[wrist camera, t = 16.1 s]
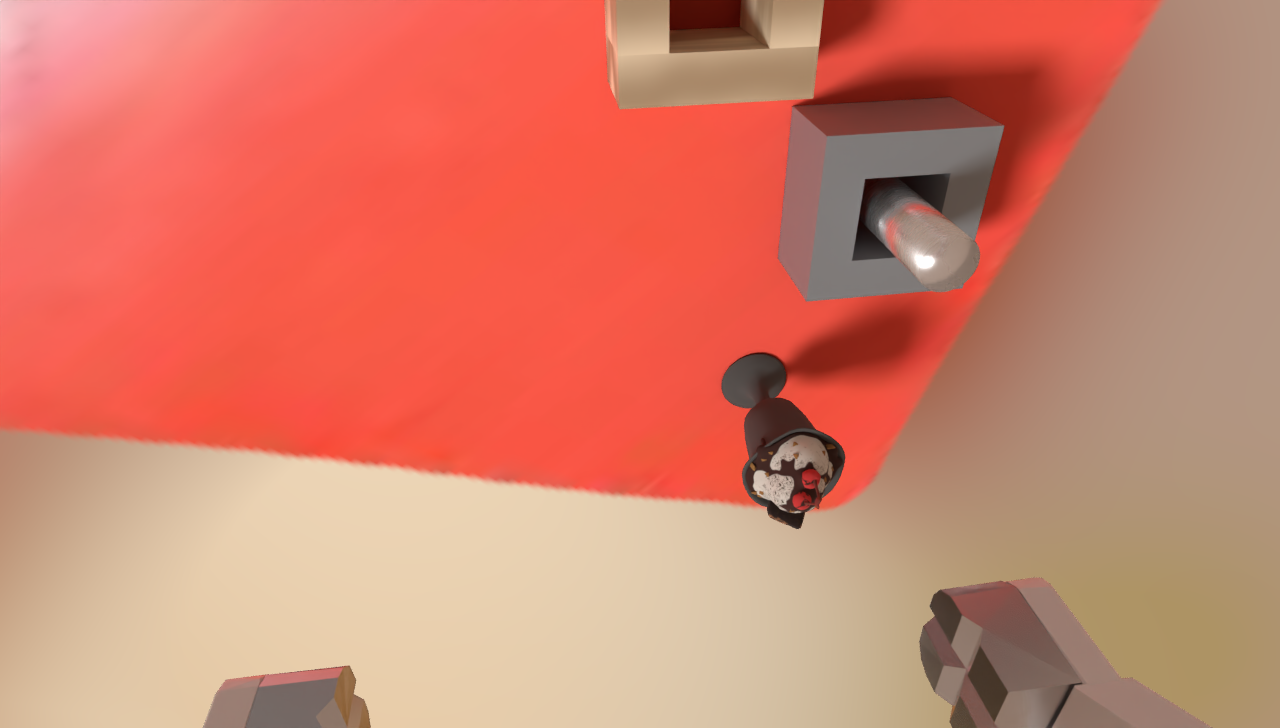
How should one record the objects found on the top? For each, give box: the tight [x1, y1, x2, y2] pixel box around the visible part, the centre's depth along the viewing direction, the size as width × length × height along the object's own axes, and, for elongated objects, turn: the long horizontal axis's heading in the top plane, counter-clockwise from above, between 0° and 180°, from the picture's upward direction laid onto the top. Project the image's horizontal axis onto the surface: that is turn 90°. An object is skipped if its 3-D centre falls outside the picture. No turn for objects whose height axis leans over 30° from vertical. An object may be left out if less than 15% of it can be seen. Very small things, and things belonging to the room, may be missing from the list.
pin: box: [859, 177, 980, 292], centre depth 42 cm, size 3×3×12 cm
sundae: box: [722, 354, 845, 529], centre depth 49 cm, size 7×7×15 cm
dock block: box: [778, 97, 1004, 301], centre depth 45 cm, size 10×10×6 cm
